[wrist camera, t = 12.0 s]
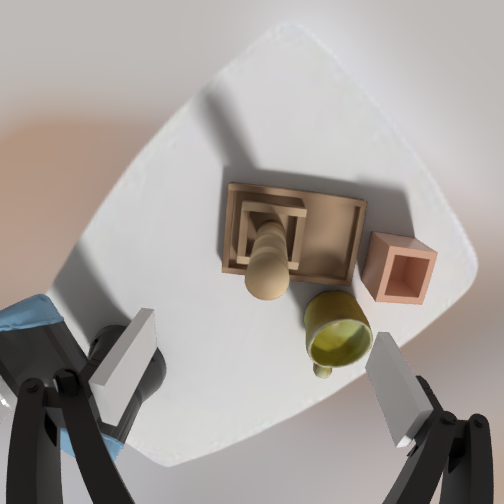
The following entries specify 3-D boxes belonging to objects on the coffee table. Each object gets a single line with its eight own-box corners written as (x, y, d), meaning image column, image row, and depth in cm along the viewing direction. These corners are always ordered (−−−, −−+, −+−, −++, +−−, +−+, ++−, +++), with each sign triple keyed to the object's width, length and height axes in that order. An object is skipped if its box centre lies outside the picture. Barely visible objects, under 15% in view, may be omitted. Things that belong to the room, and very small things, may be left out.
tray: (223, 266, 42) (220, 275, 39) (230, 182, 38) (227, 184, 35) (346, 280, 42) (352, 289, 39) (362, 199, 38) (369, 203, 35)
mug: (315, 272, 40) (340, 327, 32) (366, 287, 43) (394, 335, 35) (273, 328, 46) (287, 382, 38) (323, 337, 49) (341, 384, 41)
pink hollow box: (360, 280, 42) (375, 301, 35) (371, 231, 39) (389, 245, 33) (403, 284, 42) (422, 304, 35) (415, 238, 39) (437, 252, 33)
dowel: (256, 244, 40) (242, 297, 24) (259, 217, 39) (246, 256, 23) (283, 247, 40) (286, 302, 24) (286, 221, 38) (292, 262, 23)
